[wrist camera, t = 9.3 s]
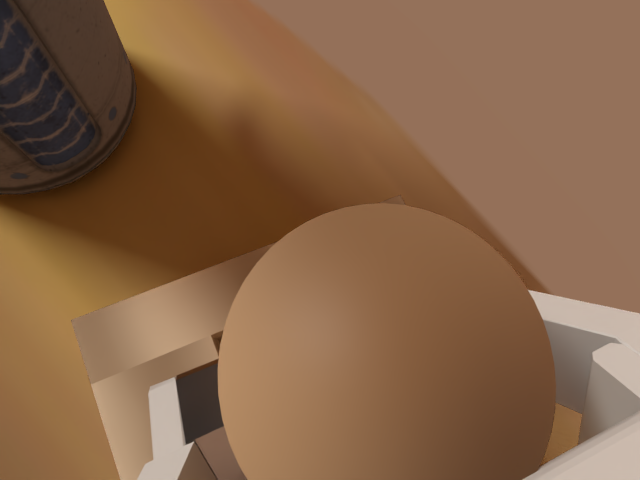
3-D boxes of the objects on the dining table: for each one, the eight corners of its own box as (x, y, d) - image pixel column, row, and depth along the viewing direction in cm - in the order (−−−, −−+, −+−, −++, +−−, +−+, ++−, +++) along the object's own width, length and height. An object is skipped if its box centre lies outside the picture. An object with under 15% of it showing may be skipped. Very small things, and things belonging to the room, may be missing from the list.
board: (231, 716, 18) (223, 809, 14) (105, 328, 21) (71, 320, 17) (527, 539, 21) (586, 577, 17) (378, 222, 24) (400, 194, 20)
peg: (275, 454, 14) (298, 648, 4) (228, 332, 15) (161, 270, 5) (390, 398, 15) (622, 460, 5) (340, 285, 16) (462, 156, 6)
